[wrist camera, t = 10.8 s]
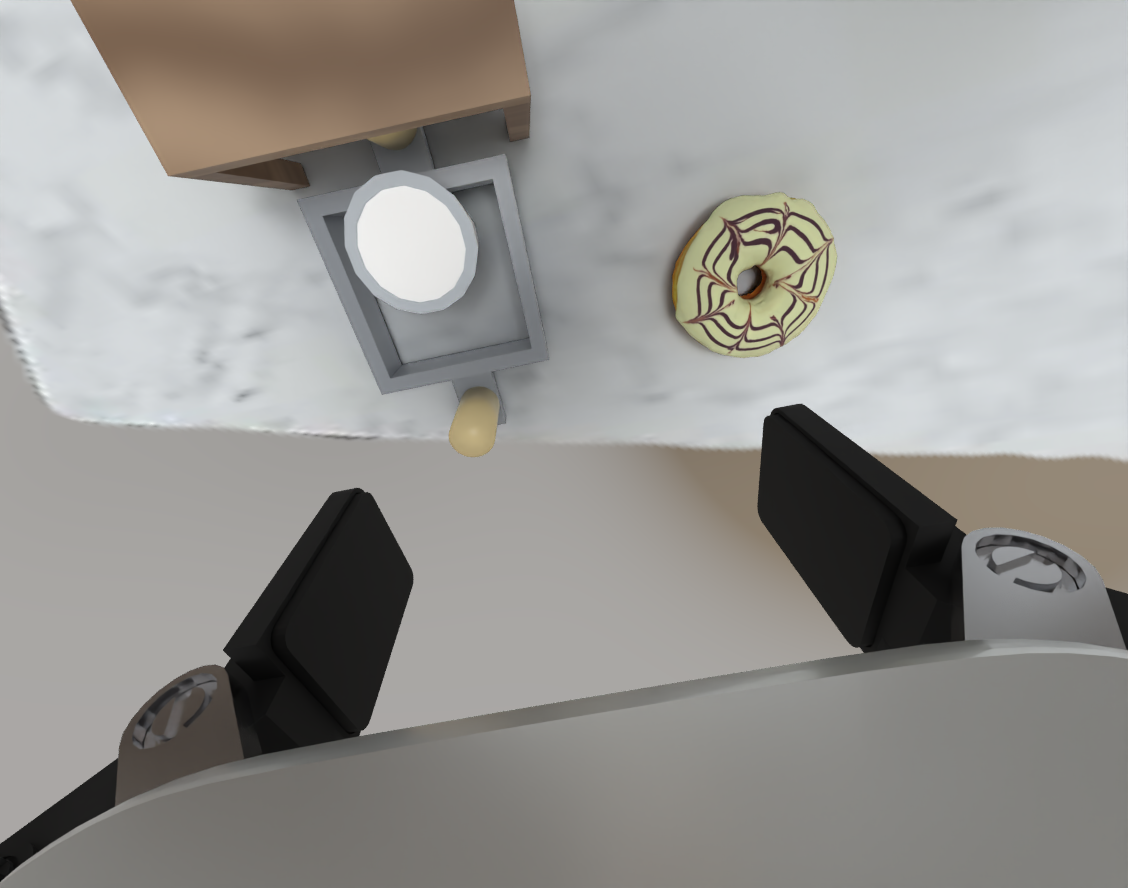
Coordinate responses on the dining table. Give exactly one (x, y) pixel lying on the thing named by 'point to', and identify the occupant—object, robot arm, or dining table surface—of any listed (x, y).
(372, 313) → the slider
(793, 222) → the decorated donut
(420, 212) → the white cylinder
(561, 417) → the dining table surface
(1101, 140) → the dining table surface
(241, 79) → the tunnel
